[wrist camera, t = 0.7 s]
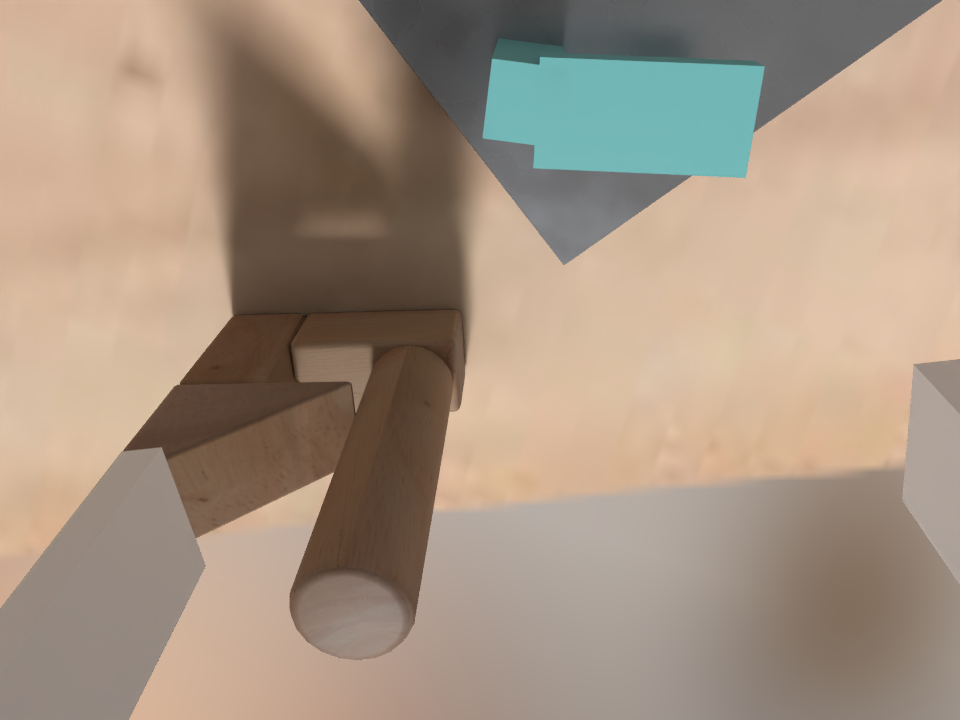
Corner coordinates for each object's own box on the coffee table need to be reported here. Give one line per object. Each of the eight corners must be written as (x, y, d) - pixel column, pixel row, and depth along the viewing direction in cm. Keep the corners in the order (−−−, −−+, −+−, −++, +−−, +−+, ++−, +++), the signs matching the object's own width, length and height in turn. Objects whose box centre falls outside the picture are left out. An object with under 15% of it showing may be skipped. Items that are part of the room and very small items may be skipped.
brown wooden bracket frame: (231, 311, 39) (25, 565, 23) (461, 305, 39) (414, 563, 22) (244, 382, 41) (61, 664, 25) (466, 377, 40) (425, 665, 24)
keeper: (493, 32, 33) (485, 54, 27) (716, 41, 33) (765, 66, 26) (490, 123, 35) (481, 166, 28) (702, 132, 35) (745, 177, 28)
